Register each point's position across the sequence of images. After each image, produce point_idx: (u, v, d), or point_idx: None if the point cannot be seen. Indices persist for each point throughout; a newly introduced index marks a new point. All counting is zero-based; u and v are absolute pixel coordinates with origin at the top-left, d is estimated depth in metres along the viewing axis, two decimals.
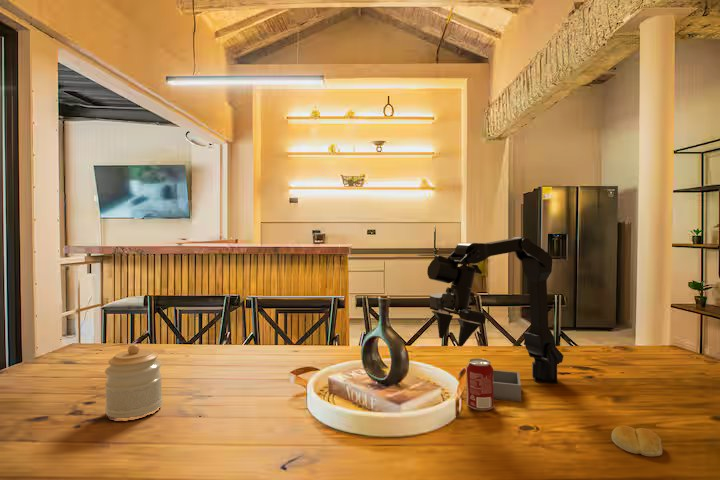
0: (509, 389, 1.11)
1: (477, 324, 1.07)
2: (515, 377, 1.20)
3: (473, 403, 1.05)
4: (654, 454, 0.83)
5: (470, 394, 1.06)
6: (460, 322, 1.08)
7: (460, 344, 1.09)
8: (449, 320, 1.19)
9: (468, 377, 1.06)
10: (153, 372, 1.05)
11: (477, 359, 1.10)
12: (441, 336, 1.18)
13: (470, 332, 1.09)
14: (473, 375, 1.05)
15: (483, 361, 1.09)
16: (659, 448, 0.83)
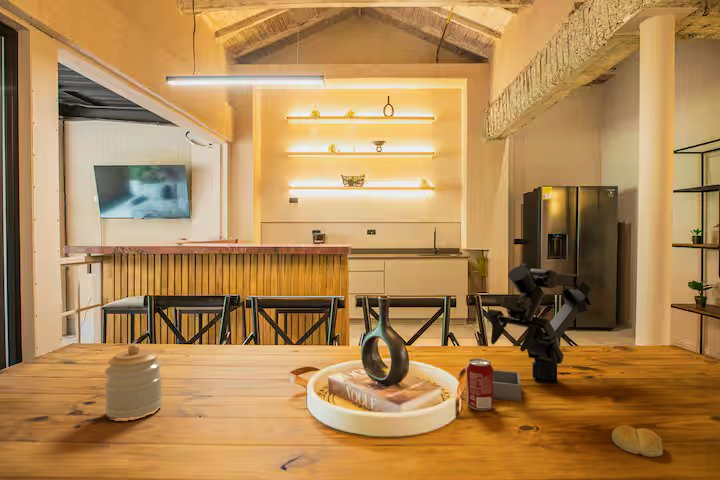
0: (509, 389, 1.11)
1: (544, 335, 1.11)
2: (515, 377, 1.20)
3: (473, 403, 1.05)
4: (654, 454, 0.83)
5: (470, 394, 1.06)
6: (531, 327, 1.11)
7: (522, 348, 1.11)
8: (501, 332, 1.21)
9: (468, 377, 1.06)
10: (153, 372, 1.05)
11: (477, 359, 1.10)
12: (493, 342, 1.18)
13: (534, 341, 1.12)
14: (473, 375, 1.05)
15: (483, 361, 1.09)
16: (659, 448, 0.83)
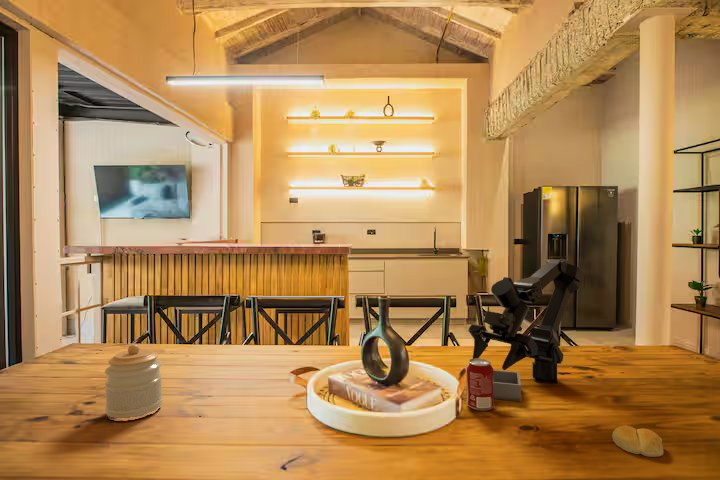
0: (509, 389, 1.11)
1: (527, 353, 1.06)
2: (515, 377, 1.20)
3: (473, 403, 1.05)
4: (655, 454, 0.83)
5: (470, 394, 1.06)
6: (514, 344, 1.06)
7: (504, 367, 1.06)
8: (484, 348, 1.16)
9: (468, 377, 1.06)
10: (153, 372, 1.05)
11: (477, 359, 1.10)
12: None
13: (516, 359, 1.07)
14: (473, 375, 1.05)
15: (483, 361, 1.09)
16: (660, 448, 0.83)
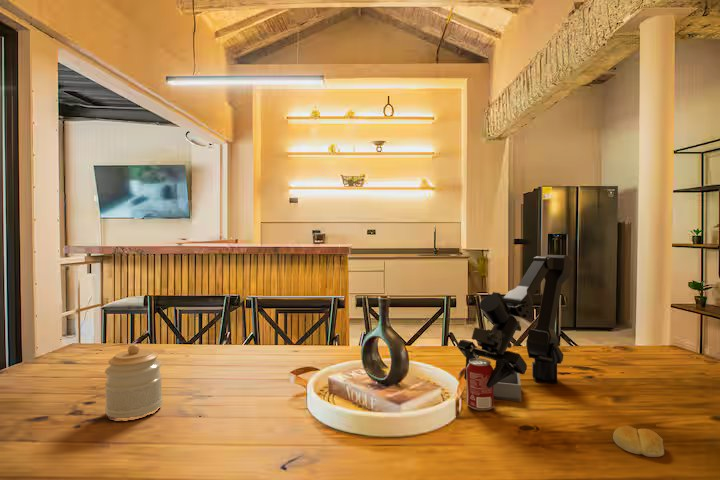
0: (509, 389, 1.11)
1: (512, 370, 1.04)
2: (515, 377, 1.20)
3: (473, 403, 1.05)
4: (656, 455, 0.82)
5: (470, 394, 1.06)
6: (498, 362, 1.04)
7: (489, 385, 1.04)
8: None
9: (468, 377, 1.06)
10: (153, 372, 1.05)
11: (477, 359, 1.10)
12: None
13: (501, 377, 1.05)
14: (473, 375, 1.05)
15: (483, 361, 1.09)
16: (661, 449, 0.83)
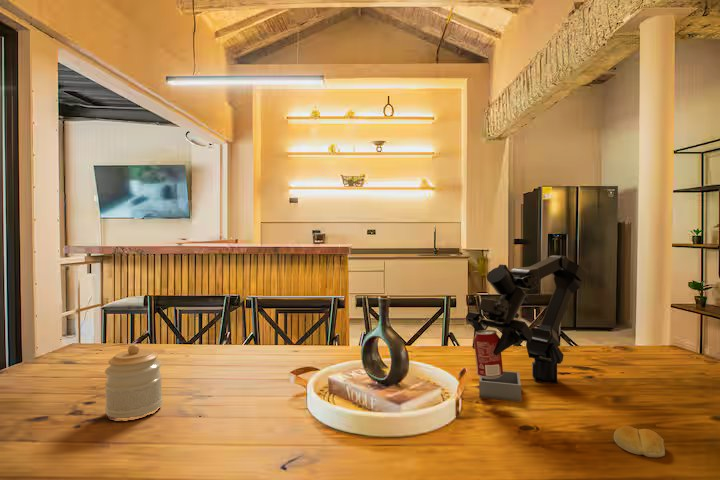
0: (509, 389, 1.11)
1: (519, 338, 1.08)
2: (515, 377, 1.20)
3: (482, 371, 1.09)
4: (657, 455, 0.82)
5: (479, 364, 1.09)
6: (505, 330, 1.08)
7: (496, 352, 1.07)
8: None
9: (476, 347, 1.10)
10: (153, 372, 1.05)
11: (484, 330, 1.14)
12: (474, 346, 1.13)
13: (508, 345, 1.09)
14: (480, 344, 1.09)
15: (490, 332, 1.13)
16: (662, 449, 0.83)
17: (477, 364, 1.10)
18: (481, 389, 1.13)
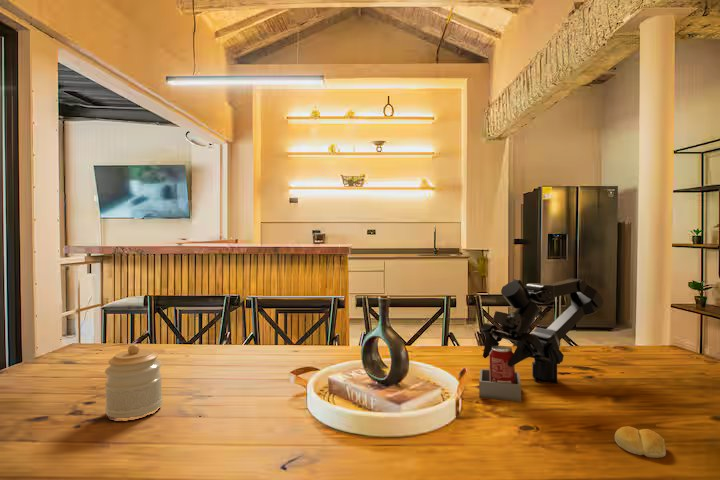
0: (509, 389, 1.11)
1: (533, 352, 1.12)
2: (515, 377, 1.20)
3: None
4: (658, 455, 0.82)
5: (492, 378, 1.15)
6: (519, 343, 1.12)
7: (510, 364, 1.12)
8: None
9: (490, 362, 1.16)
10: (153, 372, 1.05)
11: (500, 346, 1.19)
12: (485, 355, 1.20)
13: (523, 357, 1.13)
14: (494, 360, 1.14)
15: (506, 348, 1.17)
16: (663, 449, 0.83)
17: (490, 378, 1.16)
18: (481, 389, 1.13)
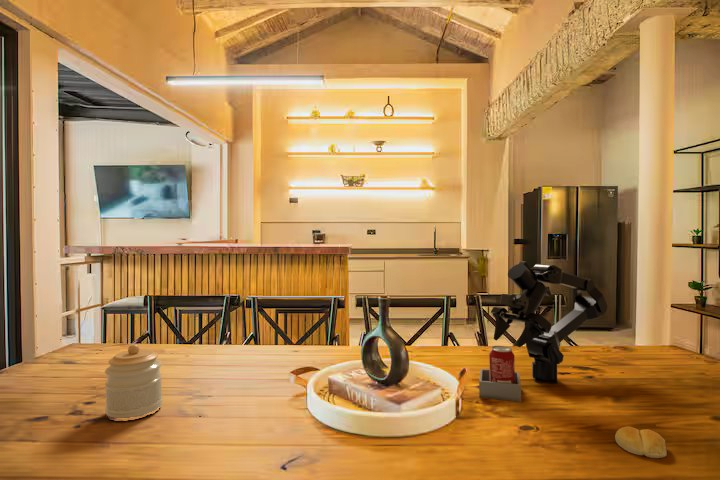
0: (509, 389, 1.11)
1: (541, 331, 1.14)
2: (515, 377, 1.20)
3: None
4: (658, 456, 0.82)
5: (492, 378, 1.15)
6: (527, 323, 1.15)
7: (519, 344, 1.15)
8: (506, 328, 1.26)
9: (490, 362, 1.16)
10: (153, 372, 1.05)
11: (500, 346, 1.19)
12: (496, 338, 1.23)
13: (531, 337, 1.15)
14: (494, 360, 1.14)
15: (505, 348, 1.17)
16: (663, 449, 0.83)
17: (490, 378, 1.16)
18: (481, 389, 1.13)
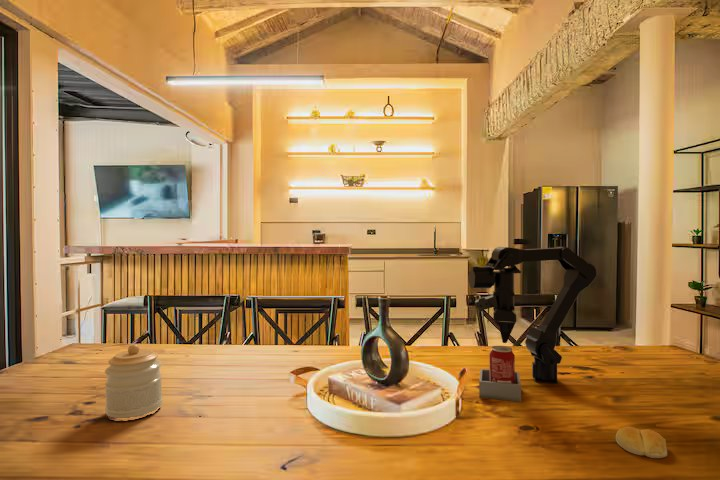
0: (509, 389, 1.11)
1: (509, 322, 1.17)
2: (515, 377, 1.20)
3: None
4: (659, 456, 0.82)
5: (492, 378, 1.15)
6: None
7: (503, 341, 1.21)
8: None
9: (490, 362, 1.16)
10: (153, 372, 1.05)
11: (500, 346, 1.19)
12: None
13: (509, 330, 1.19)
14: (494, 360, 1.14)
15: (506, 348, 1.17)
16: (664, 450, 0.83)
17: (490, 378, 1.16)
18: (481, 389, 1.13)
